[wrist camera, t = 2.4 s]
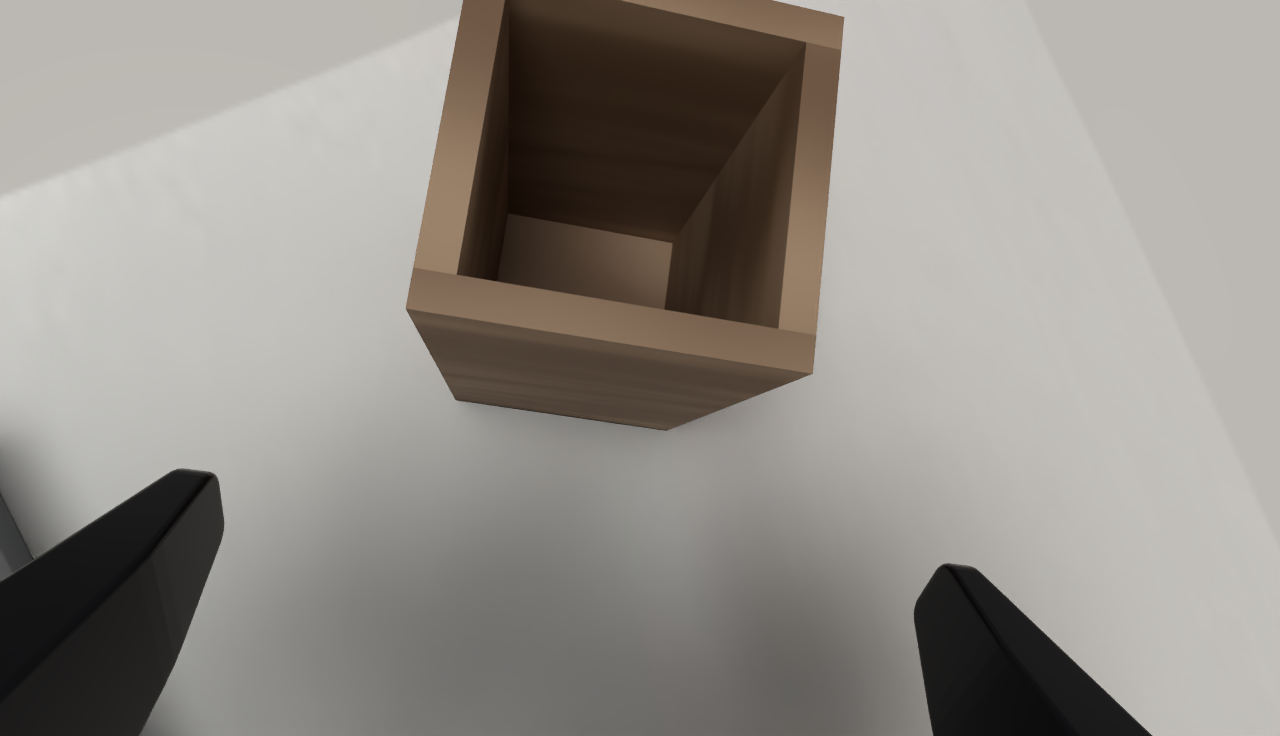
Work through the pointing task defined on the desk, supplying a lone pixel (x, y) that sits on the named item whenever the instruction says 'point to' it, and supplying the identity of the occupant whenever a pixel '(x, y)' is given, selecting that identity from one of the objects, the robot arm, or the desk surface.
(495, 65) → the walnut crate
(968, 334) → the desk surface
